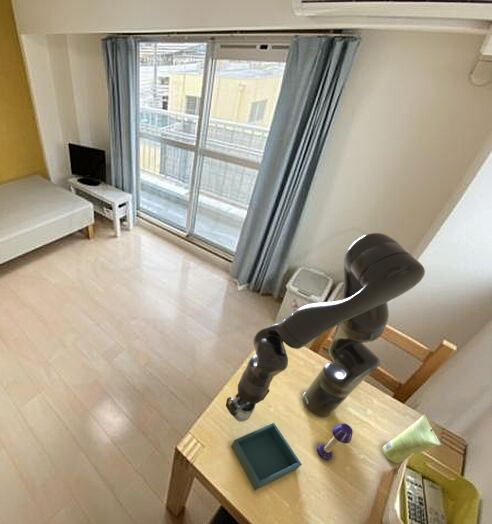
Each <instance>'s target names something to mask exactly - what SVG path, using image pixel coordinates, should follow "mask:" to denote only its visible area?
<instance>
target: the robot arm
mask: <svg viewBox="0 0 492 524" xmlns="http://www.w3.org/2000/svg"><path fill="white" fill-rule="evenodd" d="M425 274H426V269H425V267H424V266H423V264H422V263H421V262H420V261H419V260H417V258H416V257H415V256H413V255H412V253H410V252H409V251H408V250H407V249H406V248H405V247H404V246H403V245H402V244H400V243H399V241H397V240H395V239H394V238H393V237H391V236H389V235H388V234H386V233H385V234H384V233H381V232H371V233H367V234H365V235H362V236H360V237H359V238H357V239H356V240H355V241H353V242H352V243H351V245H350V246H349V247H348V249H347V251H346V253H345V254H344V258H343V290H342V296H341V299H337V300H329V301H319V302H311V303H307V304H305V305H302V306H300V307H299V308H297V309H296V310H294V311H293V312H292V313H290V315H288V316H287V317H286V318H285V319H284V320H282V321H280V322H277V323H274V324H273V325H270V326H266V327H264V328H262V329H260V330H259V331H257V332H256V333H255V335H254V336H253V340H252V341H253V347H254V351H255V354H254V355H253V356H252V357H250V359H249V360H248V363H247V365H246V367H245V369H244V371H243V373H242V374H241V377H240V380H239V382H238V384H237V393H236V394H235V396H234V398H232V397H231V396H229V397H228V398H226V402H225V407H226V410H227V411H228V412H229V414H230V415H231V416H232V417H233V416H236V414H237V412H238V410H239V409H243V408H244V407H245V406H246V405H247V404H249V403H255V406H256V405H257V404H259V403H260V402H262V401H264V400H265V399H266V397H267V395H268V394H269V393H270V386H271V383H272V381H273V380H274V378H275V377H276V376H278V375H279V374H281V373H282V372H284V371H285V370H286V369H287V368H288V364H289V357H288V354H287V351H286V347H285V345H286V346H287V347H289V348H292V349H294V350H299V349H302V348H304V347H305V346H307V345H308V344H309V343H311V342H313V341H315V340H316V339H317V338H319V337H320V336H321V335H323V334H325V333H326V332H328V331H329V330H331V329H333V328H335V327H336V329H335V333H334V334H333V338H332V340H331V342H330V344H329V347H328V354H329V356H330V358H331V360H333V361H330V362H327V363H326V364H324V365H323V367H322V369H321V370H320V372H319V373H318V374H317V376H316V377H315V378H314V380H313V381H312V383H311V384H310V385H309V387H308V388H307V389H306V391H305V392H304V393H303V394H302V397H301V401H302V405H303V407H304V408H305V410H306V411H307V412H308V413H309V414H310V415H312V416H314V417H316V418H319V419H327V418H329V417H330V416H331V415H332V414H333V413H334V412H335V411H336V410H337V408H338V407H339V406H340V405H341V404H342V403H343V402H344V401H345V400H346V399H347V397H348V396H349V395H351V393H352V392H353V391H354V390H355V389H356V388H357V387H358V386H360V385H361V383H363V382H364V380H366V379H367V378H368V377H369V376H370V375H371V374H372V373H373V372H374V371H376V369H377V368H378V367H379V365H380V363H381V360H380V358H379V357H378V356H377V355H376V354H375V353H374V352H373V351H372V350H371V349H370V348H369V347H368V346H366V344H365V343H370V342H373V341H376V340H378V339H379V338H380V337H381V336H382V335H383V333H384V331H385V329H386V326H387V324H388V321H389V317H390V311H389V305H388V302H390V301H392V300H394V299H396V298H398V297H400V296H401V295H404V294H405V293H407V292H409V291H410V290H411V289H414V287H415V286H417V285H418V284H419V283H420V282H421V281H422V280H423V278H424V277H425ZM284 344H285V345H284ZM240 403H241V404H242V405H241V404H240ZM235 404H236V405H237V408H236V405H235Z"/></svg>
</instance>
